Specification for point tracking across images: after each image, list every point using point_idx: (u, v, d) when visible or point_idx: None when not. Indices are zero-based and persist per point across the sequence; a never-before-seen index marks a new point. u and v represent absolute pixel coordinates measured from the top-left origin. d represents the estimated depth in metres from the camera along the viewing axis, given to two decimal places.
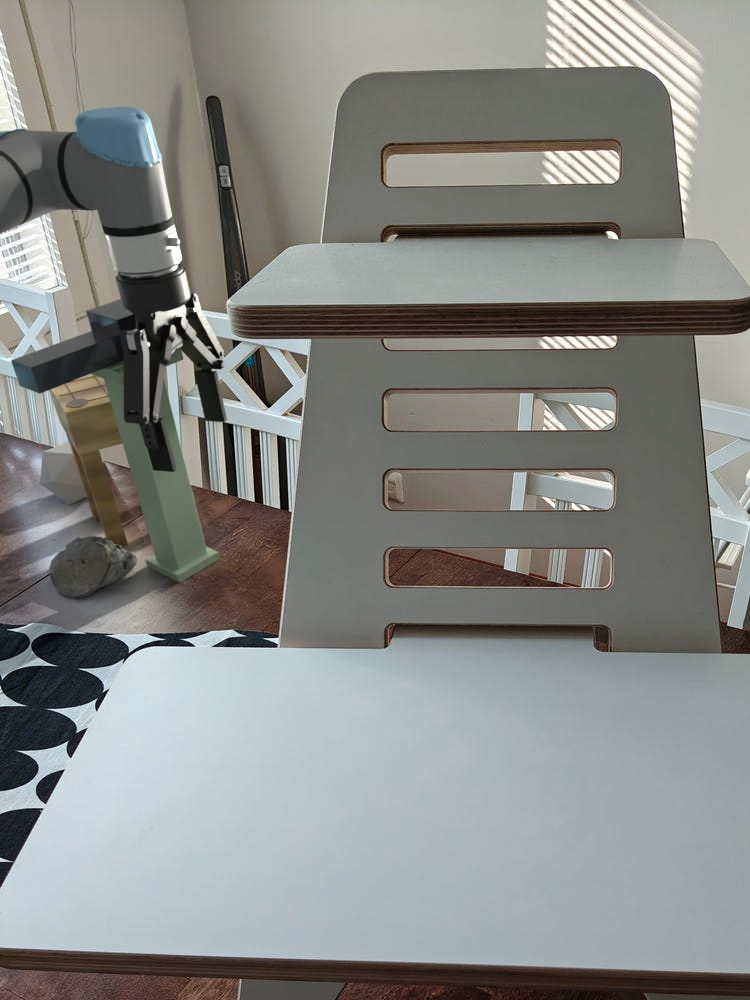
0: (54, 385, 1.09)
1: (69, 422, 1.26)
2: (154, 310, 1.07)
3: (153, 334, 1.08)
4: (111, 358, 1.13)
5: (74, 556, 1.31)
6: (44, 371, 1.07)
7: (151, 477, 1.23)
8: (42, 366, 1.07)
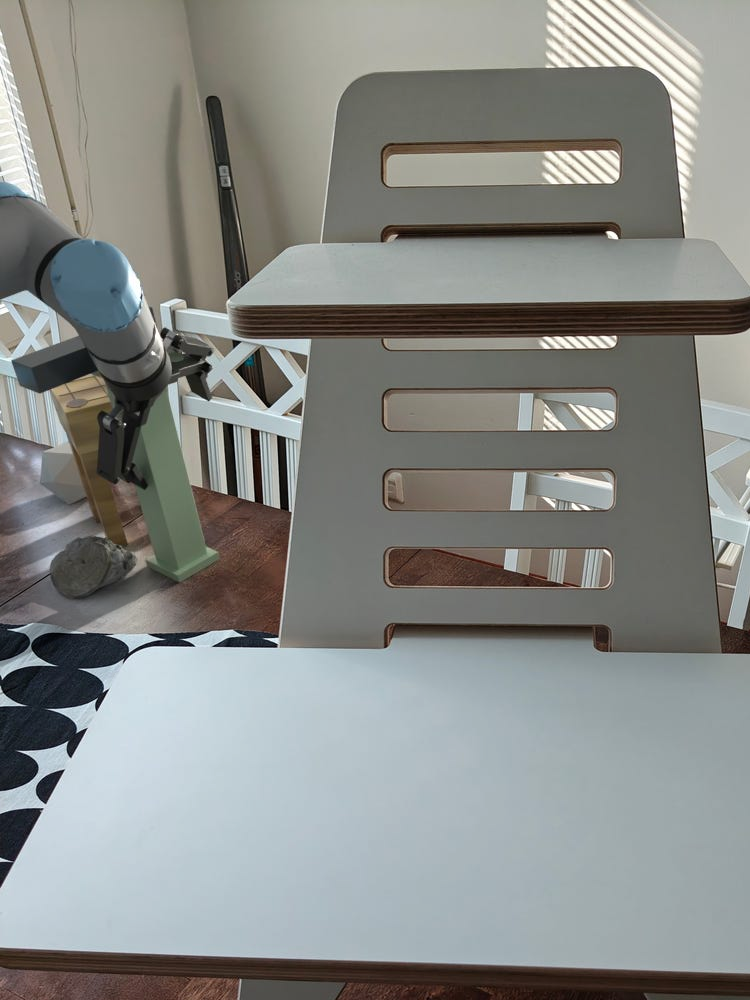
0: (54, 385, 1.09)
1: (69, 422, 1.26)
2: (132, 400, 1.09)
3: (131, 411, 1.11)
4: None
5: (74, 556, 1.31)
6: (44, 371, 1.07)
7: (151, 477, 1.23)
8: (42, 366, 1.07)
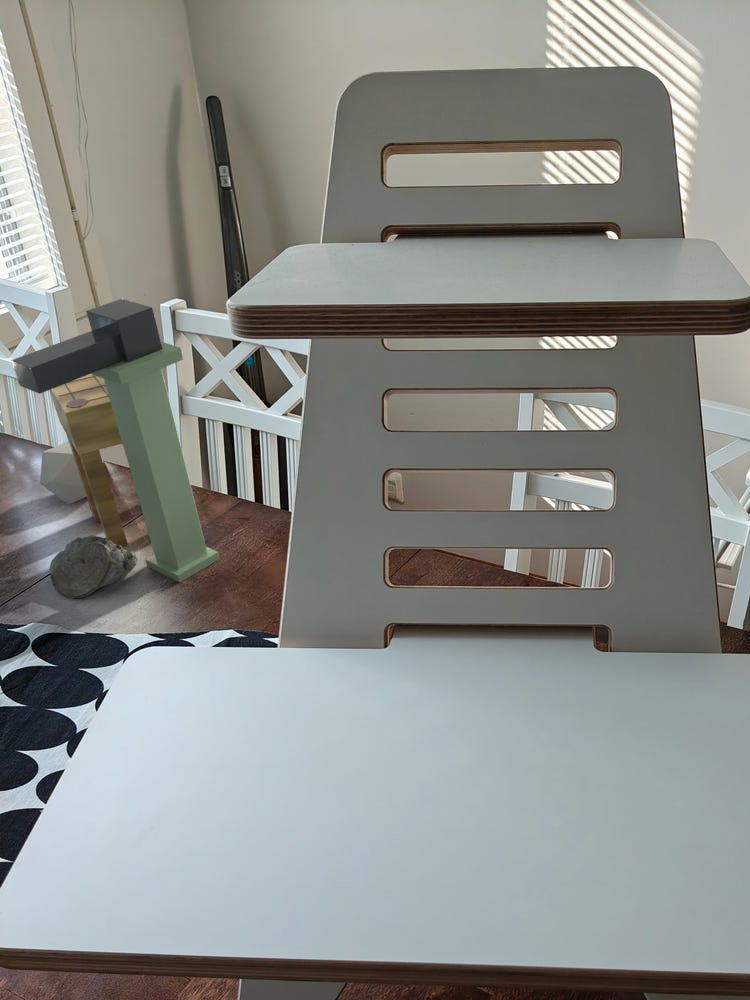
0: (54, 385, 1.09)
1: (69, 422, 1.26)
2: None
3: None
4: (111, 358, 1.13)
5: (74, 556, 1.31)
6: (44, 371, 1.07)
7: (151, 477, 1.23)
8: (42, 366, 1.07)
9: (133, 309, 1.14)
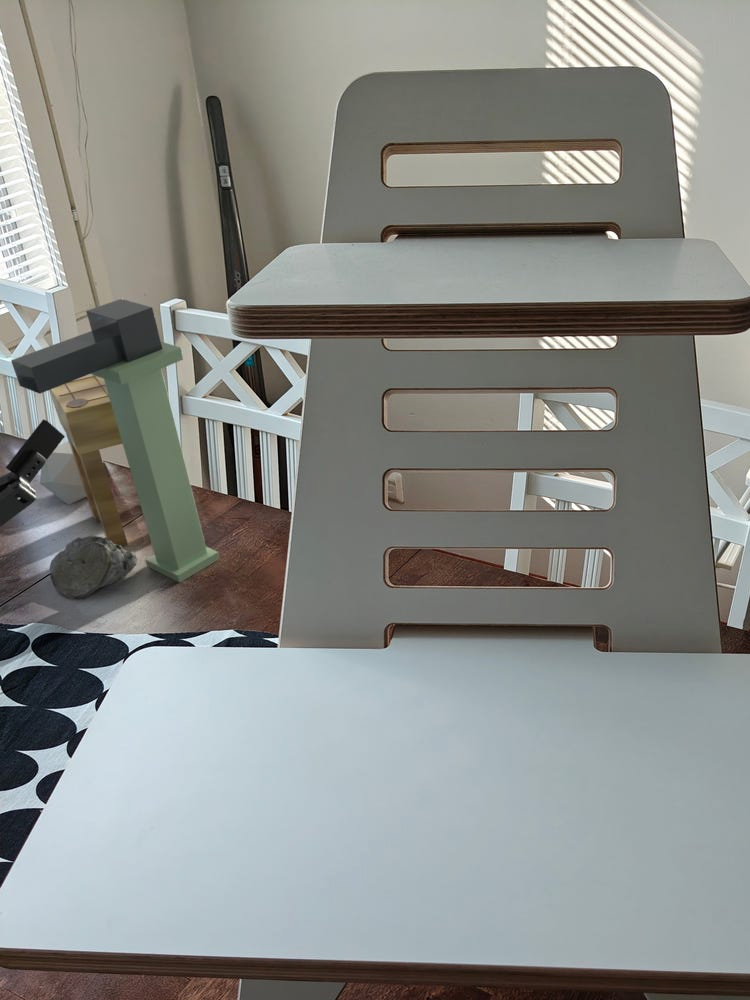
0: (54, 385, 1.09)
1: (69, 422, 1.26)
2: None
3: None
4: (111, 358, 1.13)
5: (74, 556, 1.31)
6: (44, 371, 1.07)
7: (151, 477, 1.23)
8: (42, 366, 1.07)
9: (133, 309, 1.14)
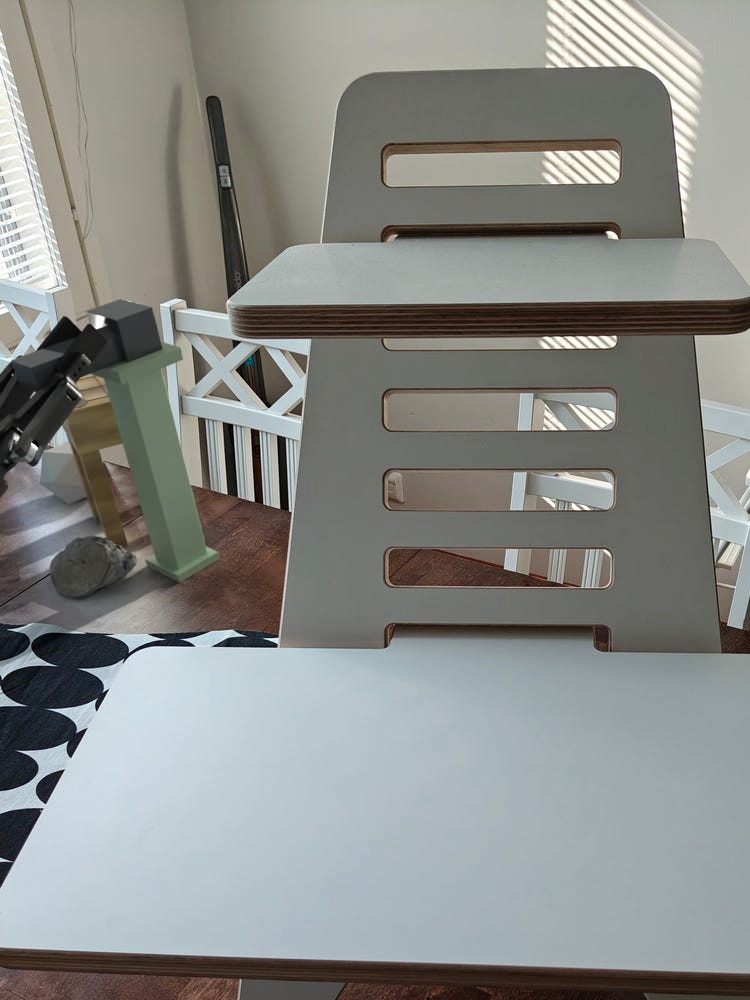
0: None
1: (69, 422, 1.26)
2: None
3: None
4: (111, 358, 1.13)
5: (74, 556, 1.31)
6: (44, 371, 1.07)
7: (151, 477, 1.23)
8: (42, 366, 1.07)
9: (133, 309, 1.14)
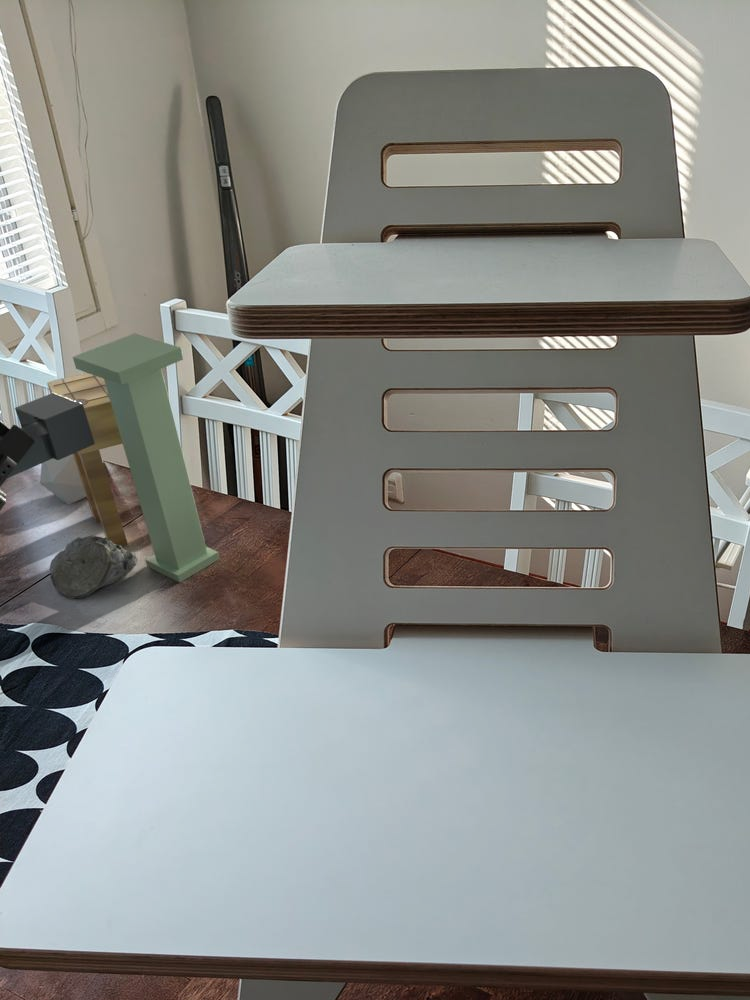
0: None
1: None
2: None
3: None
4: (40, 456, 1.10)
5: (74, 556, 1.31)
6: None
7: (151, 477, 1.23)
8: None
9: (63, 405, 1.11)
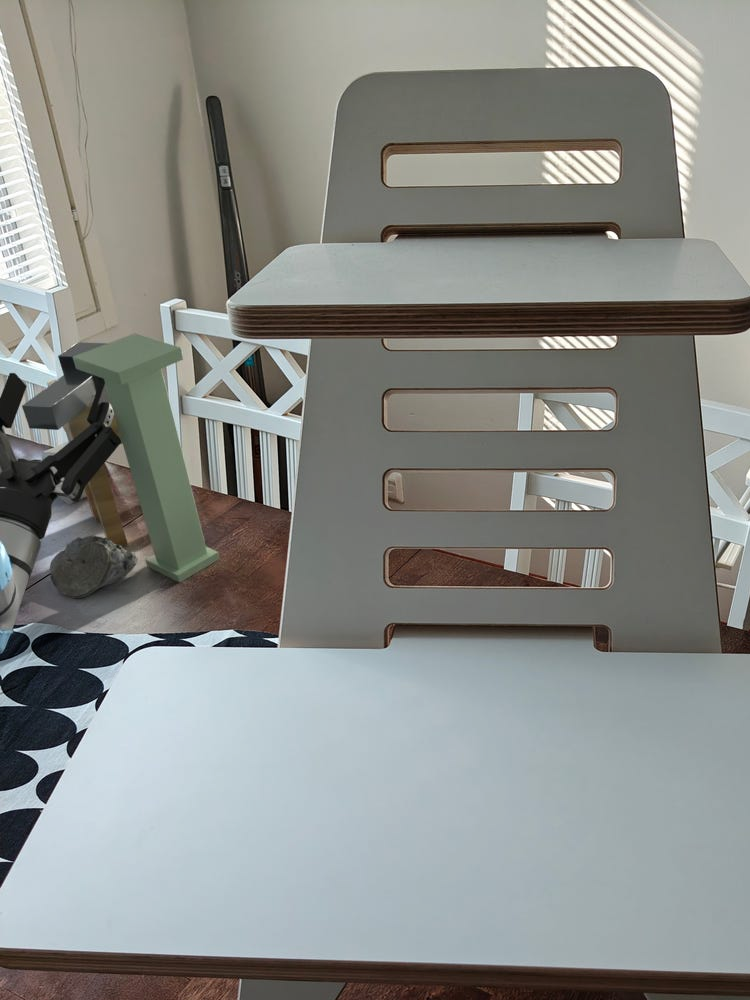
0: (65, 421, 1.22)
1: (69, 422, 1.26)
2: None
3: None
4: None
5: (74, 556, 1.31)
6: (58, 409, 1.21)
7: (151, 477, 1.23)
8: (57, 405, 1.20)
9: None
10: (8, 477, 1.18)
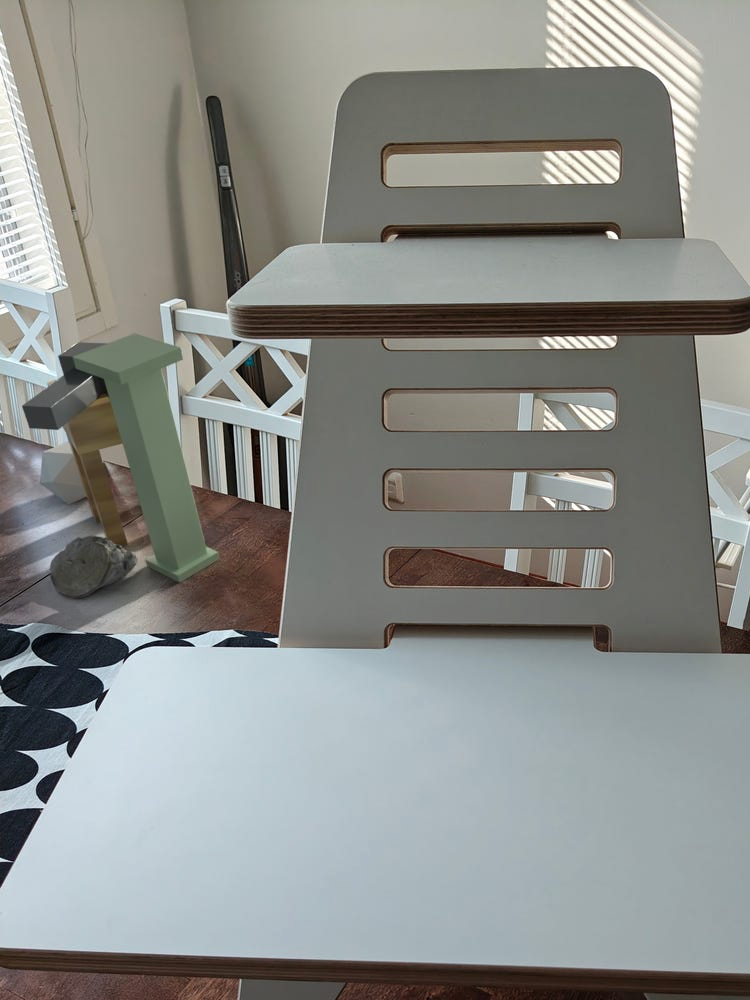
0: (65, 421, 1.22)
1: (69, 422, 1.26)
2: None
3: None
4: (96, 392, 1.28)
5: (74, 556, 1.31)
6: (58, 409, 1.21)
7: (151, 477, 1.23)
8: (57, 405, 1.20)
9: None
10: None
